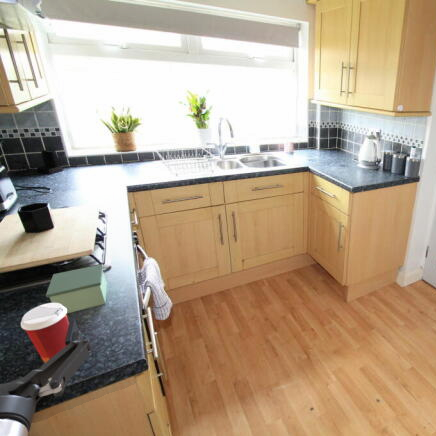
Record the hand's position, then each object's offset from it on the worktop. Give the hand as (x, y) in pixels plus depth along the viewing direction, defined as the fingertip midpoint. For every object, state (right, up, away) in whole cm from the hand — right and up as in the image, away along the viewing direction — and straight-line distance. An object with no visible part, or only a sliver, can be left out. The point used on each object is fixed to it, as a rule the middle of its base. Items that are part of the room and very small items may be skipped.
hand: (30, 337), depth 60 cm
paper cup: (-5, -11, +14) cm, 18 cm away
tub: (-15, -1, +33) cm, 37 cm away
